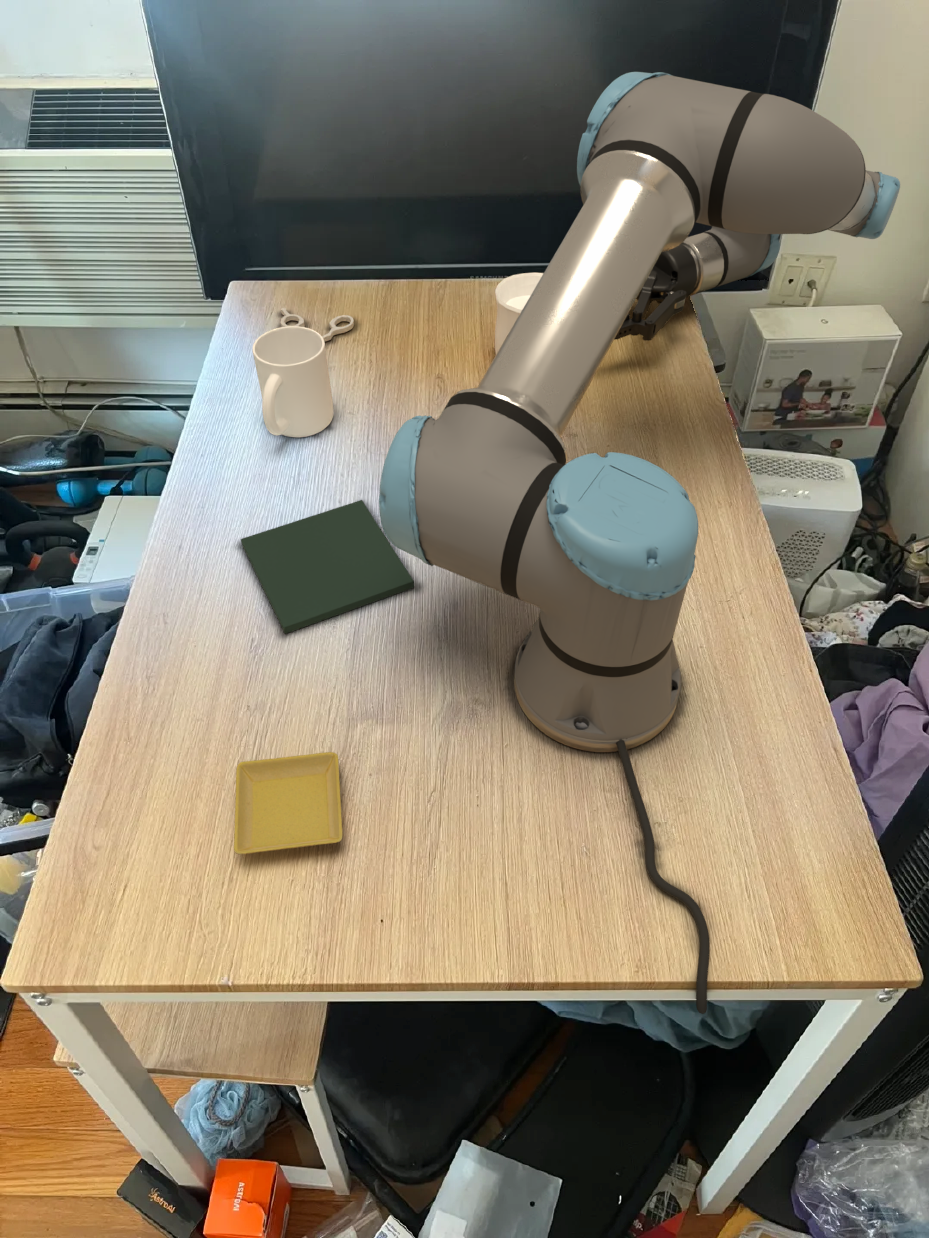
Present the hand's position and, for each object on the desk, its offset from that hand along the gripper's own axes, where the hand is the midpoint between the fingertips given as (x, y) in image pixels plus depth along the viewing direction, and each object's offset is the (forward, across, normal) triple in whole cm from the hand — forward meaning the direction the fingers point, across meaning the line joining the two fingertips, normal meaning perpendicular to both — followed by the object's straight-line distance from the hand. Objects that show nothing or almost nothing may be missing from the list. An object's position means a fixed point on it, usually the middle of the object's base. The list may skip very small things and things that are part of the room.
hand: (554, 313), depth 118 cm
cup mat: (+43, -21, -6) cm, 48 cm away
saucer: (+58, -45, -6) cm, 74 cm away
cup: (+3, 0, -6) cm, 7 cm away
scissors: (+28, +17, -6) cm, 33 cm away
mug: (+36, +3, -6) cm, 37 cm away
